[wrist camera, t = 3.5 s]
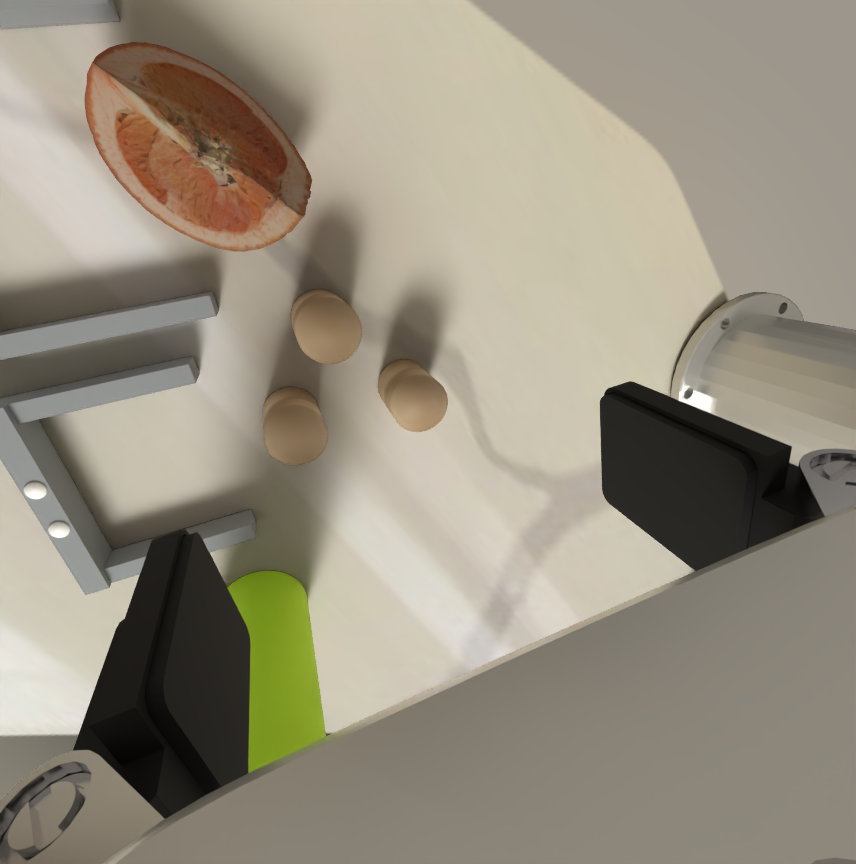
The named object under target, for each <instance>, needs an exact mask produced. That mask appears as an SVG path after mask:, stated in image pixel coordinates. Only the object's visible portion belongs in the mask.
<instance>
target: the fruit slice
mask: <svg viewBox="0 0 856 864" xmlns="http://www.w3.org/2000/svg"><path fill="white" fill-rule="evenodd" d="M85 110H86V117H87V121H88V124H89V127H90V130H91V132H92V134H93V138H94V142H95V144H96V147H97V148H98V150H99V153H100V155H101V157H102V158H103V160H104V161H105V163H106V164H107V166H108V167H109V169H110V170H111V172H112V173H113V175H114V176H115V178H116V179H117V180H118V181H119V183H120V184H121V185H122V186H123V187H124V188H125V189H126V190H127V191H128V193H129V194H131V195H132V196H133V197H134V198H135V199H136V200H137V201H138V202H139V203H140V204H141V205H142V206H143V207H144V208H145V209H146V210H147V211H149V212H150V213H151V214H153V215H154V216H155V217H157V218H158V219H160V220H161V221H163V222H164V223H165V224H167V225H169V226H170V227H172V228H174V229H175V230H177V231H178V232H180V233H183V234H185V235H187V236H189V237H191V238H193V239H195V240H197V241H200V242H203V243H205V244H208V245H210V246H213V247H216V248H221V249H225V250H230V251H248V250H256V249H260V248H263V247H265V246H267V245H270V244H272V243H274V242H276V241H278V240H280V239H281V238H283V237H284V236H285V235H286V234H287V233H289V232H291V231H292V230H293V229H294V227H295V226H296V225H297V224H298V222H299V221H300V220H301V219H302V218H303V217H304V216H305V211H306V205H307V204H308V199H309V198H310V194H311V191H310V188H311V183H312V179H311V175H310V173H309V171H308V169H307V168H306V164H305V162H304V161H303V160H302V158H301V157H300V155H299V153H298V152H297V150H296V148H295V147H294V145H293V144H292V143H291V141H290V140H289V139H288V137H287V136H286V134H285V133H284V132H283V131H282V129H281V128H280V127H279V126H278V125H277V123H276V122H275V121H274V120H273V119H272V118H271V117H270V116H269V114H268V113H267V112H266V111H265V110H264V109H263V108H262V107H261V106H260V105H259V104H258V103H257V102H256V101H255V100H254V99H253V98H251V97H250V96H249V95H248V94H247V93H246V92H245V91H244V90H242V89H241V88H240V87H239V86H237V85H236V84H235V83H234V82H232V81H231V80H230V79H228V78H227V77H226V76H224V75H223V74H221V73H220V72H218V71H216V70H215V69H213V68H211V67H209V66H207V65H206V64H204V63H202V62H200V61H198V60H195V59H193V58H191V57H189V56H186V55H184V54H181V53H179V52H176V51H173V50H171V49H169V48H166V47H163V46H159V45H155V44H149V43H138V42H131V43H128V44H120V45H116V46H113V47H110V48H108V49H106V50H105V51H103V52H102V53H101V54H99V55H98V56H96V58H95V59H94V61H93V63H92V65H91V67H90V69H89V71H88V74H87V86H86V92H85Z"/></svg>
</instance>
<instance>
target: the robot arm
mask: <svg viewBox="0 0 856 864" xmlns="http://www.w3.org/2000/svg"><path fill="white" fill-rule="evenodd" d="M600 425H601V461H602V490H603V494H604V497H605V499H606V500H607V502H608V503H609V504H610V505H612V506H613V507H614V508H616V509H617V510H618V511H619V512H621V513H622V514H623V515H625V516H626V517H627V518H628V519H630V520H631V521H632V522H634V523H635V524H636V525H637V526H639V527H640V528H641V529H643V530H644V531H645V532H646V533H648V534H649V535H650V536H651V537H653V538H654V539H655V540H657V541H658V542H659V543H660V544H662V545H663V546H664V547H666V548H667V549H668V550H669V551H671V552H672V553H673V554H675V555H676V556H677V557H678V558H680V559H681V560H682V561H684V562H685V563H686V564H687V565H689V566H690V567H691V568H692V569H694V570H695V572H693V573H691V574H688V575H686V576H684V577H682V578H679V579H677V580H675V581H672V582H670V583H668V584H665V585H663V586H661V587H659V588H656V589H654V590H652V591H649V592H647V593H645V594H643V595H640V596H638V597H636V598H634V599H631V600H629V601H627V602H624V603H622V604H620V605H618V606H615V607H613V608H611V609H609V610H606V611H604V612H602V613H600V614H597V615H595V616H593V617H591V618H588V619H586V620H584V621H581V622H579V623H577V624H575V625H572V626H570V627H568V628H566V629H563V630H561V631H559V632H557V633H554V634H552V635H550V636H548V637H545V638H543V639H541V640H539V641H536V642H534V643H532V644H530V645H527V646H525V647H523V648H521V649H518V650H516V651H514V652H512V653H509V654H507V655H505V656H503V657H500V658H498V659H496V660H494V661H492V662H489V663H487V664H485V665H483V666H480V667H478V668H476V669H474V670H472V671H469V672H467V673H465V674H463V675H460V676H458V677H456V678H454V679H452V680H449V681H447V682H445V683H443V684H440V685H438V686H436V687H434V688H432V689H429V690H427V691H425V692H423V693H420V694H418V695H416V696H414V697H412V698H409V699H407V700H405V701H403V702H400V703H398V704H396V705H394V706H392V707H389V708H387V709H385V710H383V711H380V712H378V713H376V714H374V715H372V716H369V717H367V718H365V719H363V720H360V721H358V722H356V723H354V724H352V725H350V726H348V727H346V728H343V729H341V730H339V731H337V732H335V733H333V734H331V735H328V736H326V737H324V738H322V739H320V740H318V741H316V742H313V743H311V744H309V745H307V746H305V747H303V748H301V749H298V750H296V751H294V752H292V753H290V754H288V755H286V756H284V757H281V758H279V759H277V760H275V761H273V762H271V763H269V764H267V765H265V766H262V767H260V768H258V769H256V770H254V771H252V772H250V773H248V758H249V702H250V646H251V644H250V635H249V631H248V628H247V626H246V624H245V622H244V620H243V618H242V616H241V614H240V612H239V610H238V608H237V606H236V604H235V602H234V600H233V598H232V596H231V594H230V592H229V590H228V588H227V586H226V584H225V582H224V580H223V578H222V577H221V575H220V573H219V571H218V569H217V567H216V565H215V563H214V561H213V559H212V557H211V555H210V553H209V551H208V549H207V547H206V545H205V543H204V541H203V539H202V537H201V536H200V534H199V533H197V532H195V533H192V534H189V533H188V532H187V530H185V529H182V530H179V531H176V532H172V533H169V534H166V535H163V536H160V537H157V538H155V539H153V540H152V541H151V544H150V547H149V549H148V552H147V555H146V558H145V561H144V564H143V567H142V570H141V573H140V576H139V579H138V582H137V585H136V588H135V590H134V593H133V596H132V599H131V602H130V605H129V608H128V611H127V614H126V617H125V619H124V620H122V621H121V622H120V623H119V625H118V627H117V629H116V631H115V634H114V637H113V639H112V642H111V645H110V648H109V651H108V653H107V656H106V659H105V662H104V665H103V668H102V670H101V673H100V676H99V679H98V682H97V684H96V687H95V690H94V693H93V696H92V699H91V701H90V704H89V707H88V710H87V713H86V715H85V718H84V721H83V724H82V727H81V730H80V732H79V735H78V738H77V741H76V744H75V746H74V749H73V751H72V752H68V753H65V754H62V755H59V756H57V757H55V758H53V759H51V760H50V761H48V762H46V763H45V764H43V765H41V766H39V767H38V768H36V769H35V770H34V771H32V772H31V773H30V774H29V775H27V776H26V777H25V778H23V779H22V780H21V781H19V782H18V783H17V784H16V785H15V786H14V787H13V788H12V789H11V790H10V791H9V792H8V793H7V794H6V795H5V796H4V797H3V798H2V799H1V800H0V864H856V330H853V329H847V328H840V327H835V326H829V325H823V324H817V323H810V322H805V321H804V319H803V316H802V314H801V312H800V311H799V309H798V307H797V306H796V305H795V304H794V303H793V302H792V301H791V300H790V299H788V298H786V297H784V296H782V295H778V294H772V293H766V292H753V293H748V294H745V295H741V296H739V297H736V298H734V299H732V300H730V301H728V302H726V303H725V304H724V305H722V306H721V307H719V308H718V309H717V310H715V311H714V312H713V313H712V314H711V315H710V316H709V317H708V318H707V319H706V320H705V321H704V322H703V323H702V324H701V325H700V327H699V328H698V329H697V330H696V332H695V333H694V334H693V335H692V337H691V339H690V340H689V342H688V344H687V345H686V347H685V349H684V350H683V352H682V355H681V357H680V359H679V362H678V364H677V367H676V370H675V374H674V377H673V381H672V389H671V397H669V396H667V395H664V394H662V393H659V392H657V391H654V390H652V389H649V388H647V387H645V386H642V385H640V384H637V383H635V382H626V383H623V384H620V385H617V386H614V387H611V388H608V389H607V390H606V392H605V394H604V396H603V397H602V398H601V400H600Z"/></svg>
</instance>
